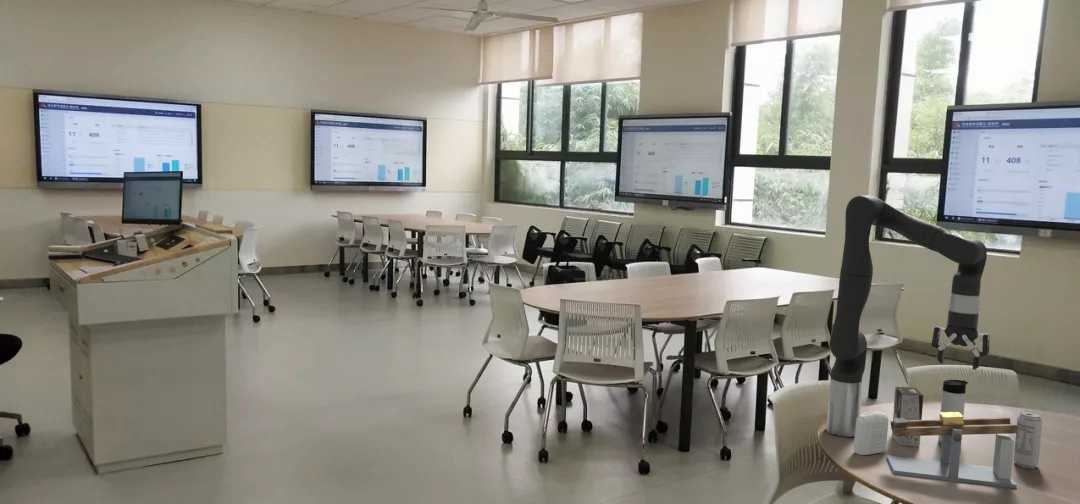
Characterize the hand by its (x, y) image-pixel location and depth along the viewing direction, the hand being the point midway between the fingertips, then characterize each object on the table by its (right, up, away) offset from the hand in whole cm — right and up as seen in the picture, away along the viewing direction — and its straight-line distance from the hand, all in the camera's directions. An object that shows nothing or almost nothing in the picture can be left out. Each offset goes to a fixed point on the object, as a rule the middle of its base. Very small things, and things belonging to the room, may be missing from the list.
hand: (958, 366), depth 221 cm
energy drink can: (+20, -29, +2) cm, 35 cm away
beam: (-5, -17, -7) cm, 19 cm away
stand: (-6, -29, -6) cm, 30 cm away
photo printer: (-21, -27, +9) cm, 36 cm away
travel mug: (+7, -27, +18) cm, 33 cm away
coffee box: (-6, -26, +19) cm, 33 cm away
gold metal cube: (-5, -16, -7) cm, 18 cm away
